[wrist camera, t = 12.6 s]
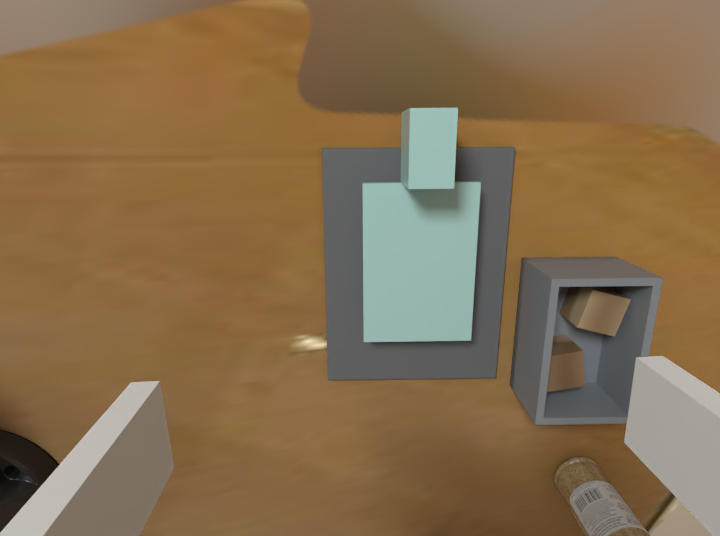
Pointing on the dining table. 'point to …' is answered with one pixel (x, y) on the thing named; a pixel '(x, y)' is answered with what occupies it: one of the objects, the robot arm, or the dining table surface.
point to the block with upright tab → (421, 239)
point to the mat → (346, 268)
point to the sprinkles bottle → (595, 500)
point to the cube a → (565, 365)
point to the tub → (580, 339)
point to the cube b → (595, 308)
